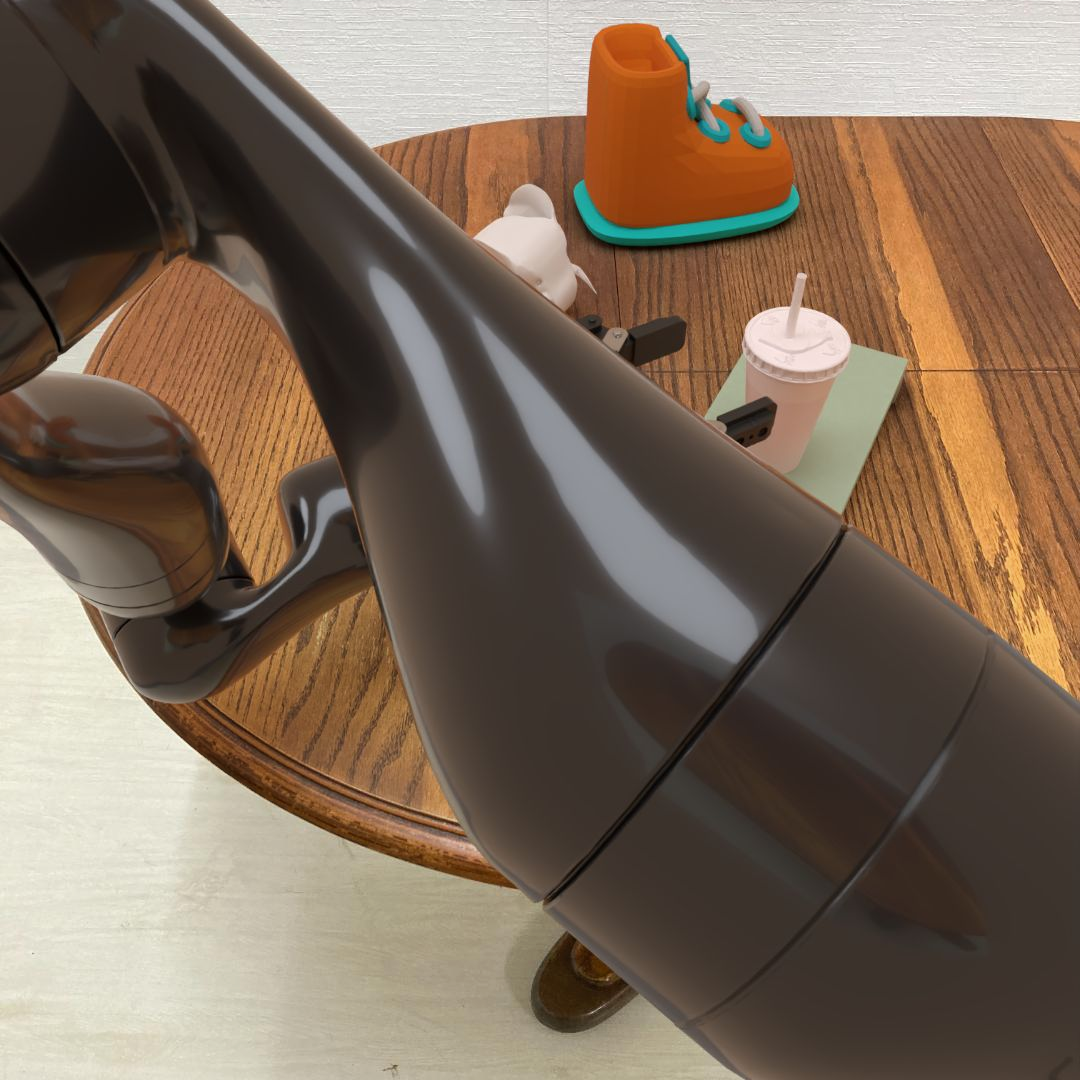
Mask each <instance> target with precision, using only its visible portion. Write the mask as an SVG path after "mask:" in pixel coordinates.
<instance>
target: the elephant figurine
mask: <svg viewBox="0 0 1080 1080" xmlns="http://www.w3.org/2000/svg"><path fill="white" fill-rule="evenodd" d="M472 238H473V239H474V240H475V241H476V242H477V243H478V244H480V245H481V246H482V247H483V248H485V249H486V250H487V251H488V252H489V253H491V254H492V255H493V256H494V257H496V258H497V259H498V260H500V261H501V262H502V263H503V264H505V265H506V266H507V267H509V268H510V269H511V270H512V271H514V272H515V273H516V274H517V275H519V276H520V277H521V278H523V279H524V280H525V281H526V282H528V283H529V284H530V285H532V286H533V287H534V288H535V289H537V290H538V291H539V292H540V293H542V294H543V295H544V296H545V297H547V298H548V299H549V300H551V301H552V302H553V303H554V304H556V305H557V306H558V307H559V308H561V309H562V310H563V311H564V312H566V311H567V310H568V309H570V307H571V306H572V305H573V304H574V303H575V301H576V297H577V294H578V281H577V277H578V278H580V280H582V281H583V282H584V283H585V284H586V285H587V286H588V287H589V288H590V290H592V291H593V292H594V294H596V295H597V294H598V293H597V290H596V289H595V287H594V286H593V284H592V282H591V281H590V279H589V278H588V276H587V274H586V273H585V272H584V270H583V269H582V268H581V267H580V266H578V265H577V264H574V263H572V262H571V260H570V258H569V256H568V253H567V249H568V241H567V238H566V234H565V231H564V230H563V228H562V227H561V225H560V224H559V223H558V220H557V216H556V210H555V207H554V204H553V202H552V199H551V198H550V196H549V195H548V193H547V192H545V190H543V189H542V188H540V187H539V186H537V185H535V184H533V183H526V184H523V185H521V186H519V187H518V188H516V189H515V190H514V191H513V192H512V193H511V195H510V198H509V202H508V204H507V206H506V208H505V209H504V210H503V215H502V217H500V218H496V219H495V220H494V221H492V222H491V223H489V224H488V225H487V226H485V227H483V228H482V230H480V231H479V232H478V233H477V234H476V235H475V236H473V237H472ZM576 276H577V277H576Z"/></svg>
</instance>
